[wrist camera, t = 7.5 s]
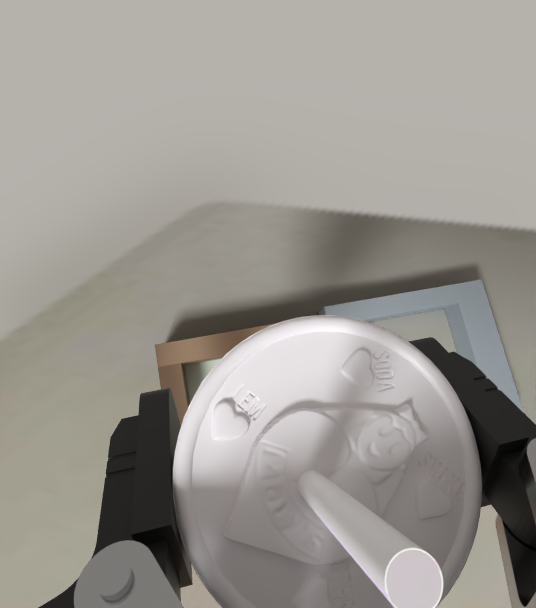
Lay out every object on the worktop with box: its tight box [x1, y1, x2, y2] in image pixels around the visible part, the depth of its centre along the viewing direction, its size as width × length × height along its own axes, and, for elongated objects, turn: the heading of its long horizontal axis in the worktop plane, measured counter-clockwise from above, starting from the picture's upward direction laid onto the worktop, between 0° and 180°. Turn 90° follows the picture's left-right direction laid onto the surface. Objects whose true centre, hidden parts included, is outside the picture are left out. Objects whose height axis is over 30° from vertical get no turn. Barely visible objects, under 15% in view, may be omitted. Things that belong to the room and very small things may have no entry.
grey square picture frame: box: [318, 279, 524, 413], centre depth 31 cm, size 13×11×2 cm
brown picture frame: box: [155, 323, 276, 426], centre depth 28 cm, size 12×12×3 cm
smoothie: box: [173, 315, 482, 608], centre depth 10 cm, size 6×6×14 cm
